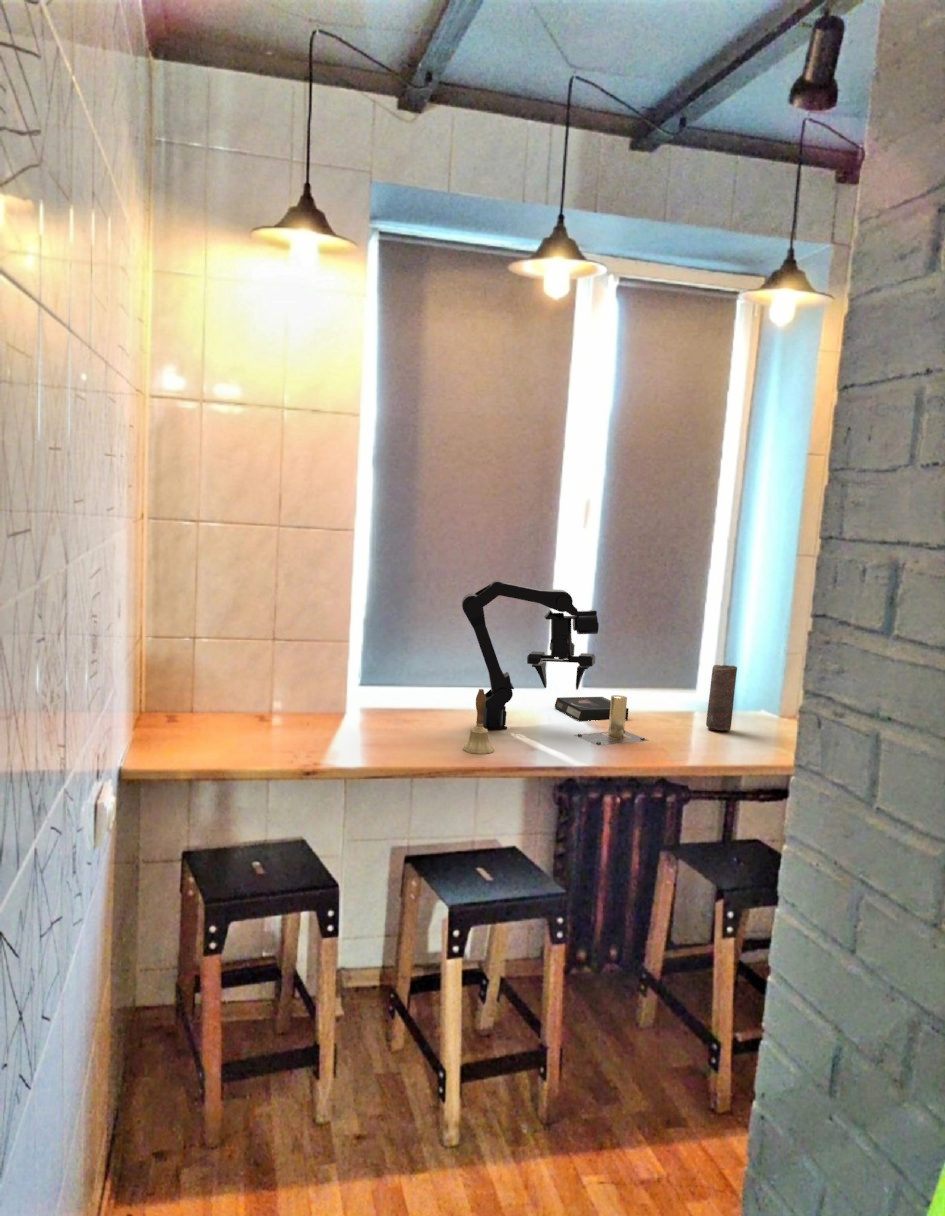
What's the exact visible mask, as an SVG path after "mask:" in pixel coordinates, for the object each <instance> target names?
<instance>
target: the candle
mask: <svg viewBox="0 0 945 1216" xmlns="http://www.w3.org/2000/svg"><path fill="white" fill-rule="evenodd" d="M737 671H738V666H736V665H729V664H728V665H726V664H724V665H721V664H714V665H713V666H712V670H711V676H710V677H711V678H710V688H709V697H708V705H707V713H706V723H705V725H706V727H707V728H708V729H709V730H714V731H716V730H717V731H720V732H721V731H731V729H732V719H733V712H734V711H733V710H734V700H735V692H736V691H735V690H736V681H737V680H736V679H737V674H738V673H737Z"/></svg>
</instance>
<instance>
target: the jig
mask: <svg viewBox="0 0 945 1216" xmlns="http://www.w3.org/2000/svg"><path fill="white" fill-rule="evenodd" d="M605 734H608V731H603V732H590V733H577V734H573V736H574V737H577V738H579V739H582V740H584V741H586V742H589V743H591V744H593V745H596V746H607V745H617V744H627V743H636V742H637V743H638V742H648V741H650V740H649V739H647V738H645V737H642V736H639V735H637V734H634V733H631V732H629V731H626V729H624V736H628V737H622V738H614V737H611V736H609V735H605Z"/></svg>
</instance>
